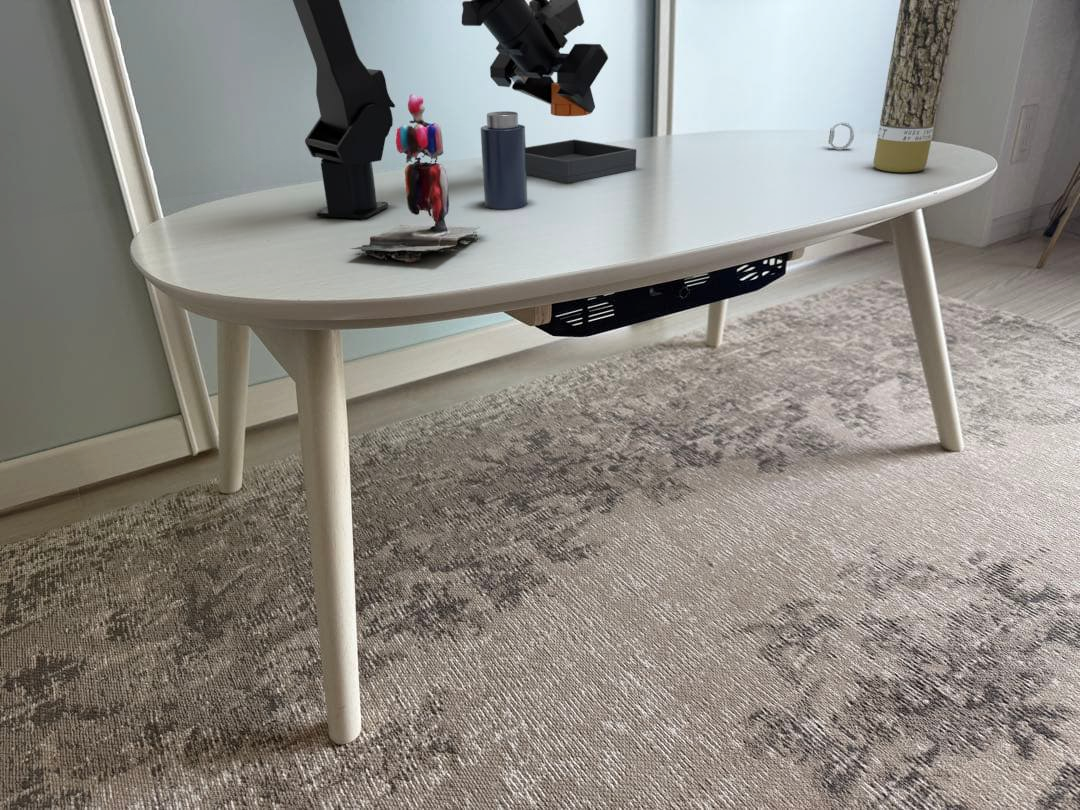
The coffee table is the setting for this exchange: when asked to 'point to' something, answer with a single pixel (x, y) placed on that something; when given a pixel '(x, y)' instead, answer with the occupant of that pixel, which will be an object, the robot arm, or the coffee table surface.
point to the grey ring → (833, 135)
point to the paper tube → (914, 83)
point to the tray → (578, 160)
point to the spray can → (504, 161)
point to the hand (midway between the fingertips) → (578, 108)
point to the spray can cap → (564, 104)
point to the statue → (420, 194)
